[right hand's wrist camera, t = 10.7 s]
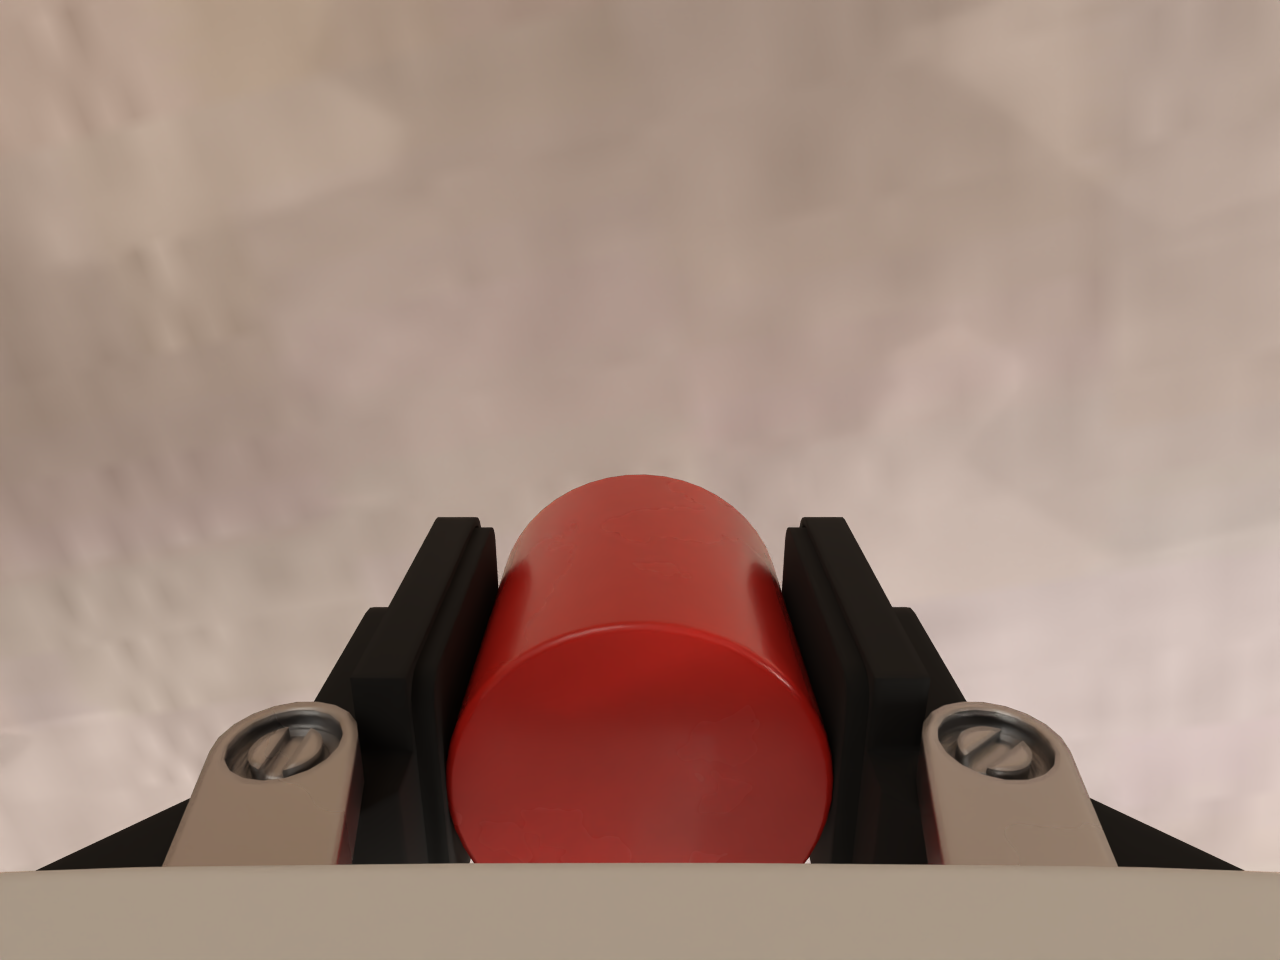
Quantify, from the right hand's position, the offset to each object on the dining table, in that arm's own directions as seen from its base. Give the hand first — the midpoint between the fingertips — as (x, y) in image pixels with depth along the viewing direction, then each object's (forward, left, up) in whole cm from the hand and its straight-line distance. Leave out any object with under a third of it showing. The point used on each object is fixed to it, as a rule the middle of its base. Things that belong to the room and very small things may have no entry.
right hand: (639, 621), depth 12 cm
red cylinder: (0, 0, 0) cm, 0 cm away
